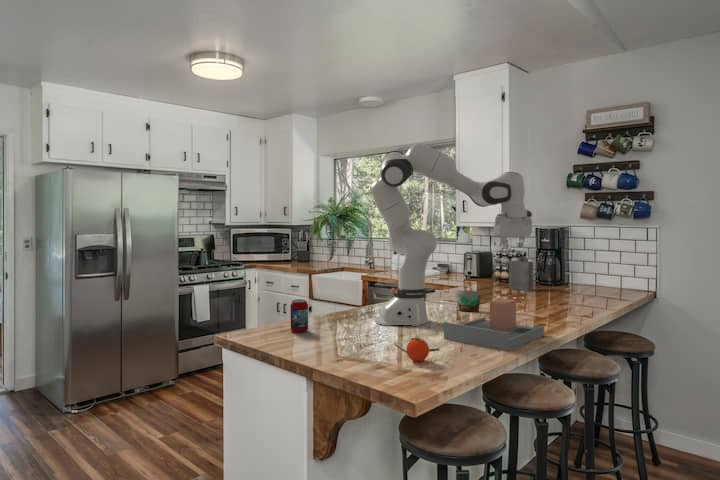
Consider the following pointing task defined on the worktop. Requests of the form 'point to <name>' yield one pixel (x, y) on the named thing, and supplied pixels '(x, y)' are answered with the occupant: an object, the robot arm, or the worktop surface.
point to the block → (502, 314)
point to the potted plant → (468, 300)
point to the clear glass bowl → (424, 340)
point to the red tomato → (417, 349)
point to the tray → (491, 334)
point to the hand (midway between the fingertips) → (513, 248)
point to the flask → (521, 275)
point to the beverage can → (299, 316)
